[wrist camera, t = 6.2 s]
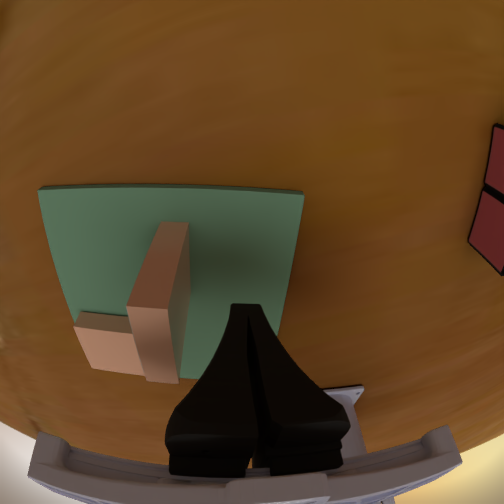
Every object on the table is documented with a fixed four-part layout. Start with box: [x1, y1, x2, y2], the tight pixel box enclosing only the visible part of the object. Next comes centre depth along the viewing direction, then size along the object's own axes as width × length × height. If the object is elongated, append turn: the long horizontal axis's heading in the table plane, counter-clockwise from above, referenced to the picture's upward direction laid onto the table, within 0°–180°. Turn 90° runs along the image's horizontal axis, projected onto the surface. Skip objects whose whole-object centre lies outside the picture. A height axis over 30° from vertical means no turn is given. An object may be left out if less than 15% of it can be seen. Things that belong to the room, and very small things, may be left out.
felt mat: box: [37, 184, 305, 379], centre depth 20 cm, size 17×16×1 cm
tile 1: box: [73, 312, 145, 376], centre depth 20 cm, size 5×2×7 cm
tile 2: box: [126, 221, 191, 384], centre depth 15 cm, size 5×2×7 cm, turn 175°
